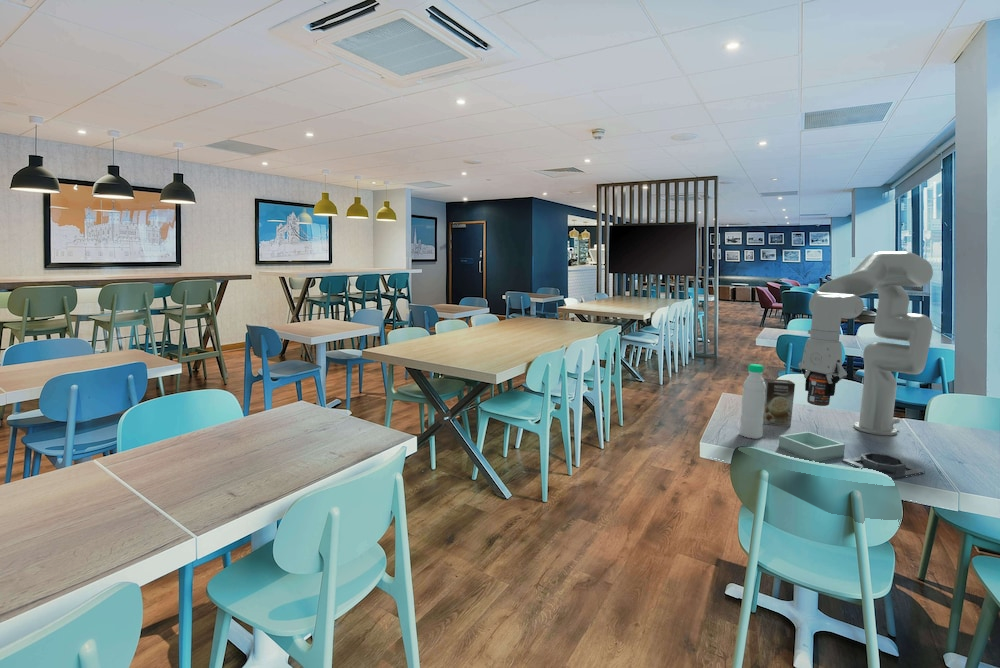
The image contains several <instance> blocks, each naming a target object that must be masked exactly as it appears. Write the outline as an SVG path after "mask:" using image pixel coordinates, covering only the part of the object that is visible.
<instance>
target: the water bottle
mask: <svg viewBox="0 0 1000 668" xmlns="http://www.w3.org/2000/svg"><path fill="white" fill-rule="evenodd" d="M764 368H765V367H764V365H762V364H759V363H757V364H756V363H750V364H749V365H748V366H747V372H748V376H746V379H745V380H744V382H743V384H742V388H743V390H742V395H741V396H742V397H741V415H740V426H739V434H740V436H742V437H743V436H744V438H746V437H747V439H751V438H752V440H757V439H758V440H759V439H761V438H762V437H763V430H764V429H763V425H764V423H763V414H764V406H765V390H766V385H765V382H764V379H765V378H763V373H764V370H765V369H764Z"/></svg>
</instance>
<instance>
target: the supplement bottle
mask: <svg viewBox="0 0 1000 668" xmlns="http://www.w3.org/2000/svg"><path fill="white" fill-rule="evenodd" d="M826 383H828V380H827V376H826V374H821V373H817V372H814V373H813V374H811V375H810V379H809V388H808V391H807V397H806V398H807V399H806V400H807V403H809V404H810V405H812V406H817V407H818V406H819V407H820V406H821V407H826V406H829V405H830V401H831V396H825V388H826Z"/></svg>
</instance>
